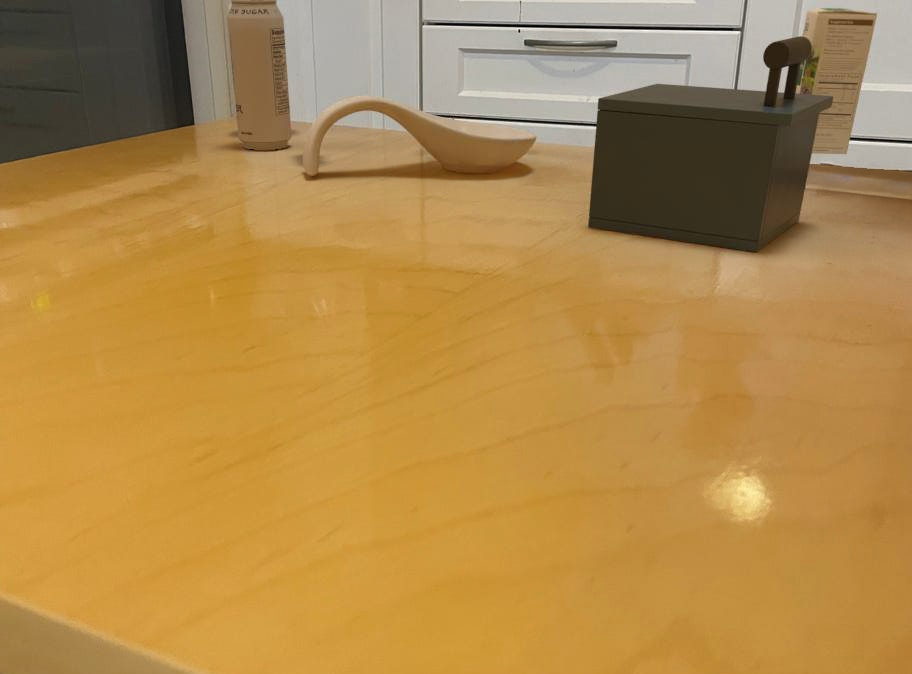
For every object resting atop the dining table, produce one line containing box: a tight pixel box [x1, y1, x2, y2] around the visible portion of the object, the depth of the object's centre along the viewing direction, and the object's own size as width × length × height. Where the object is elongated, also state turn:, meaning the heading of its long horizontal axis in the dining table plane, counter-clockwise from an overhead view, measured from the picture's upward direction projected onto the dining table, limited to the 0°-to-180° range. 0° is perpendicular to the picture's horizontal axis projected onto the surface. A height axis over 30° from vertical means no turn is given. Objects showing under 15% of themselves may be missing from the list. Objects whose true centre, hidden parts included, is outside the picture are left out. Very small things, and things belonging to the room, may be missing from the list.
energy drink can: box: [226, 0, 292, 151], centre depth 105 cm, size 6×6×15 cm
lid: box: [597, 35, 833, 126], centre depth 71 cm, size 14×12×5 cm
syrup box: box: [795, 7, 878, 155], centre depth 96 cm, size 6×6×14 cm
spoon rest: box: [302, 94, 537, 177], centre depth 94 cm, size 24×12×7 cm, turn 104°
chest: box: [587, 109, 820, 253], centre depth 74 cm, size 14×12×9 cm
